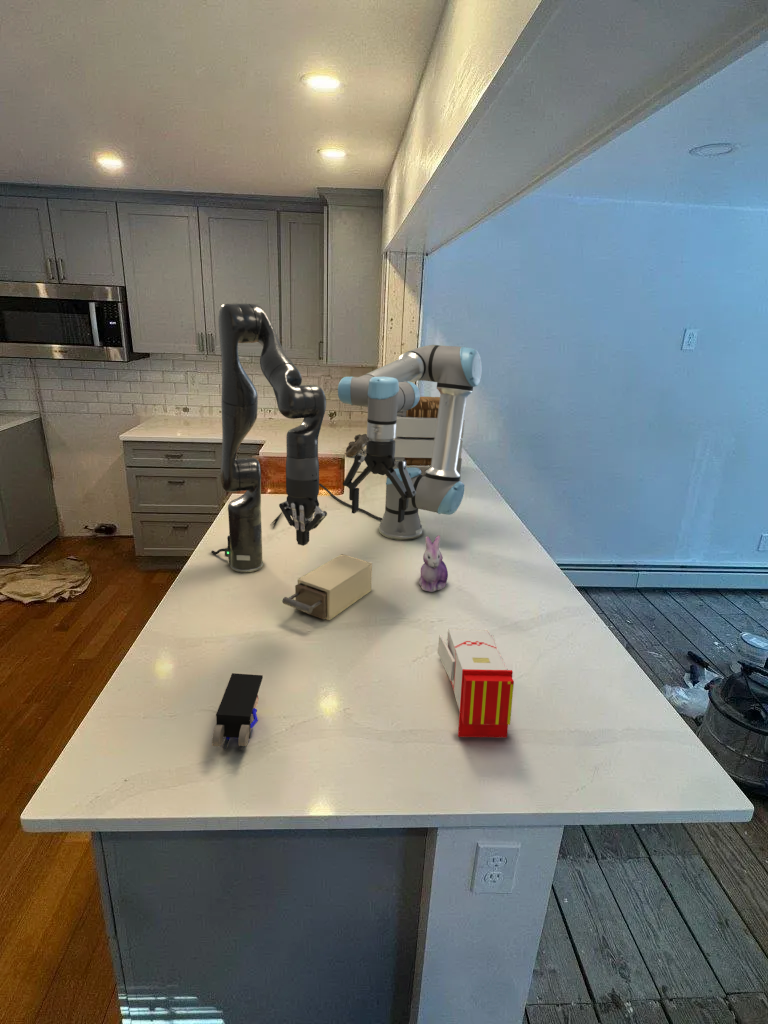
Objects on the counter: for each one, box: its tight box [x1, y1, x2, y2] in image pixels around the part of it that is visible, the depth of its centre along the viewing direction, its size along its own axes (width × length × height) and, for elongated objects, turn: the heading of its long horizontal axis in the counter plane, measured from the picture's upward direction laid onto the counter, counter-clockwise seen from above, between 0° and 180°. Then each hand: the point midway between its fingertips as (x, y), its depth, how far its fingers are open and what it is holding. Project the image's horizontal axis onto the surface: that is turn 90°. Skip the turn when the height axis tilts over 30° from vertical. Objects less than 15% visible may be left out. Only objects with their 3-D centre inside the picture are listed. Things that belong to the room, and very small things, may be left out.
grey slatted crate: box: [393, 396, 465, 476], centre depth 268 cm, size 34×33×41 cm
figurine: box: [418, 535, 449, 593], centre depth 161 cm, size 9×10×15 cm
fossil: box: [345, 433, 368, 458], centre depth 306 cm, size 22×10×15 cm
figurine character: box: [211, 672, 264, 751], centre depth 104 cm, size 7×8×15 cm
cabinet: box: [297, 553, 373, 621], centre depth 152 cm, size 20×10×9 cm, turn 149°
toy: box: [437, 628, 515, 738], centre depth 117 cm, size 12×13×30 cm
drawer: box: [281, 583, 327, 620], centre depth 148 cm, size 24×9×7 cm, turn 149°
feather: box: [270, 512, 283, 529], centre depth 212 cm, size 2×28×2 cm
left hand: (302, 544), depth 135 cm, fingers closed
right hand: (377, 516), depth 153 cm, fingers open, 13 cm apart
